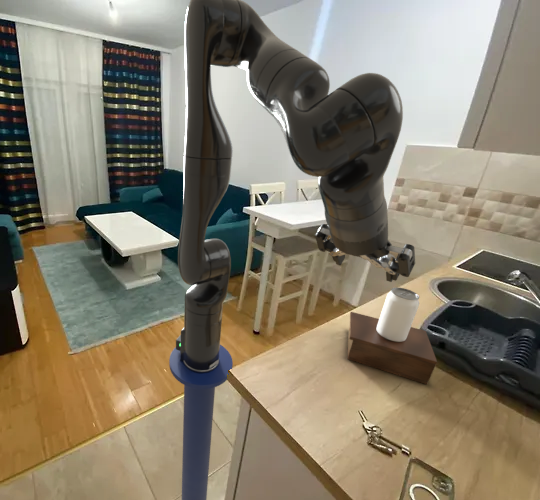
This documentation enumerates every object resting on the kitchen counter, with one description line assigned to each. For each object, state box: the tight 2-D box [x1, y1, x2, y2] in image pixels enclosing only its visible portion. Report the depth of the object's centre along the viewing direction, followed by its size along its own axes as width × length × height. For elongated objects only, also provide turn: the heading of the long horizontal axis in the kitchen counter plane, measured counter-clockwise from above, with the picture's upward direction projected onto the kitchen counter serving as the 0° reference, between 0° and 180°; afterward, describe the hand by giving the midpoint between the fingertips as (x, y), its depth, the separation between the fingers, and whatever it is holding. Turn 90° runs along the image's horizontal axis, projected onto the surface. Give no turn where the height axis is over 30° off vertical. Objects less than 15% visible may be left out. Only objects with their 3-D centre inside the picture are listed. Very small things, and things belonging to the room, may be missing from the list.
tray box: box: [347, 327, 437, 385], centre depth 75 cm, size 17×13×6 cm
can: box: [376, 286, 420, 342], centre depth 71 cm, size 6×6×12 cm
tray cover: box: [349, 311, 438, 365], centre depth 73 cm, size 17×13×1 cm
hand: (364, 268), depth 53 cm, fingers open, 8 cm apart
